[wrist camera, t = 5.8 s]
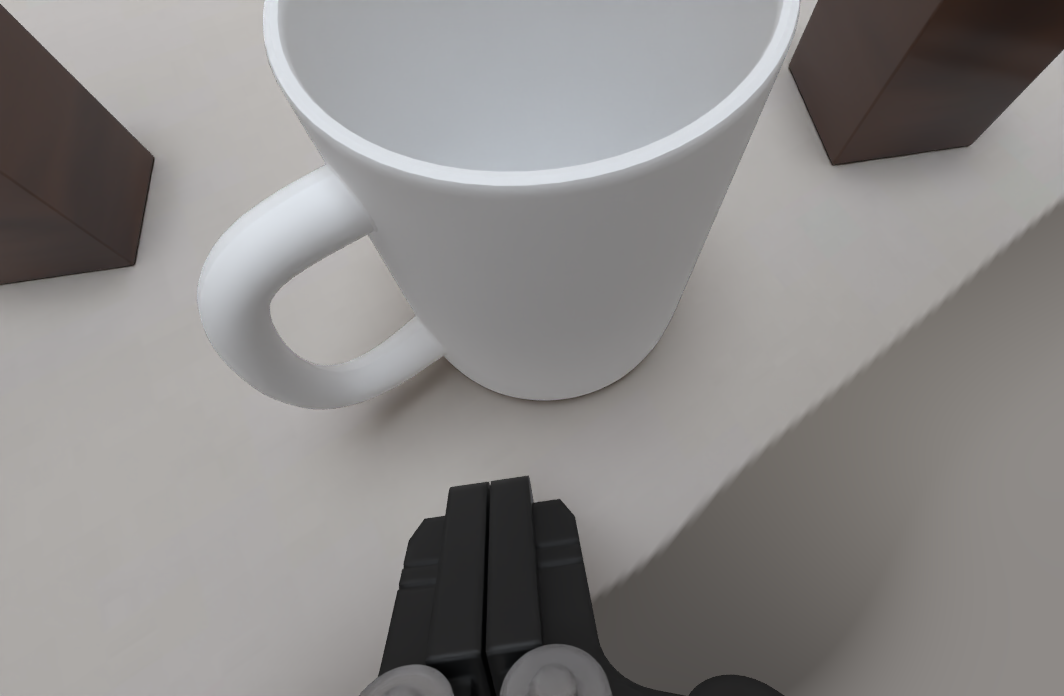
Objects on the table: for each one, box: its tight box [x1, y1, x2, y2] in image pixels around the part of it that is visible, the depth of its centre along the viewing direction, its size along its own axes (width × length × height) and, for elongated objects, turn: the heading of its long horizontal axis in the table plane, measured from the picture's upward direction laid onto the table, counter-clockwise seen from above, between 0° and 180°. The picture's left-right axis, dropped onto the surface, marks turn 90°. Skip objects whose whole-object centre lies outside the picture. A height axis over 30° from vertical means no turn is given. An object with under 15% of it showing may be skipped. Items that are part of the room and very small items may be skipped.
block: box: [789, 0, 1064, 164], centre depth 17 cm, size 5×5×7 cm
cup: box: [197, 0, 800, 409], centre depth 13 cm, size 8×12×10 cm
